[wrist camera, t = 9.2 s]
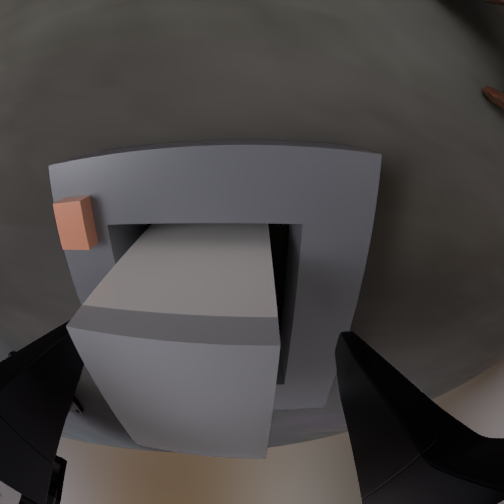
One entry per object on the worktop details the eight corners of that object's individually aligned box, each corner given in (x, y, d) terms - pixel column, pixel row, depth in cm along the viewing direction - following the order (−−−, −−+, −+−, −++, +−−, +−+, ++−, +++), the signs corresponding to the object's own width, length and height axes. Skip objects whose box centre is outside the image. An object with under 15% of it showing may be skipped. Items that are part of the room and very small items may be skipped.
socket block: (315, 364, 15) (325, 416, 11) (138, 357, 15) (119, 404, 11) (349, 145, 10) (391, 157, 6) (92, 152, 10) (37, 169, 6)
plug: (263, 325, 13) (265, 458, 7) (175, 322, 13) (136, 444, 7) (267, 215, 11) (280, 345, 5) (159, 216, 11) (65, 326, 5)
